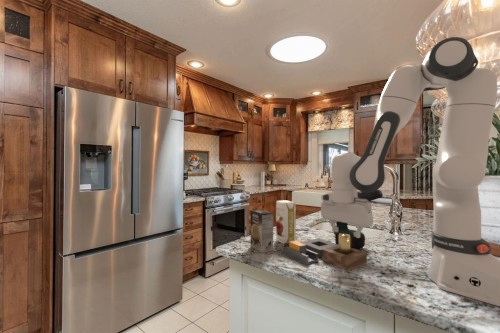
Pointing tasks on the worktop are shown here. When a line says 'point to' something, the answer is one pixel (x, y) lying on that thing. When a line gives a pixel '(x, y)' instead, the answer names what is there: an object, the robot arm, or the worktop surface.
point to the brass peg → (344, 243)
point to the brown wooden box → (344, 257)
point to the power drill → (355, 242)
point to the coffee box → (262, 230)
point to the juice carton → (285, 221)
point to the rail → (300, 255)
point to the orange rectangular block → (298, 246)
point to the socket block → (318, 245)
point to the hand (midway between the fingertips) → (345, 234)
